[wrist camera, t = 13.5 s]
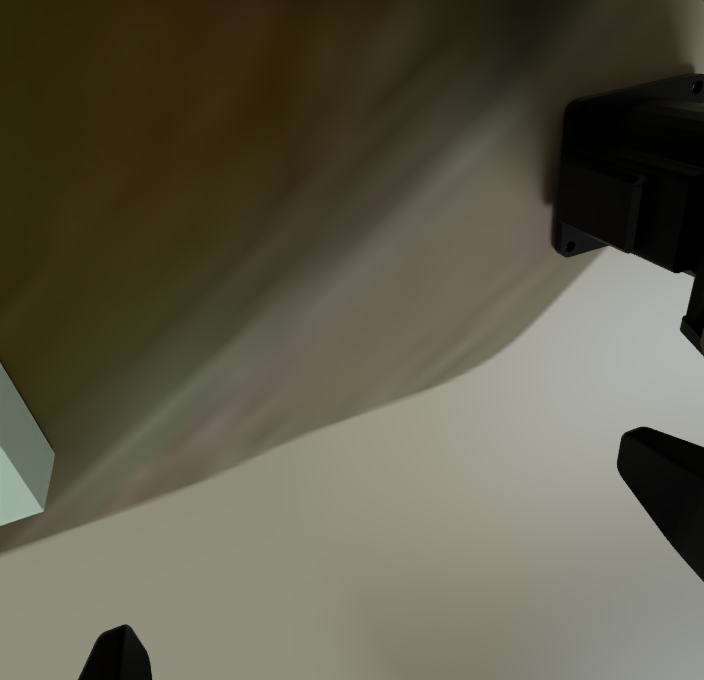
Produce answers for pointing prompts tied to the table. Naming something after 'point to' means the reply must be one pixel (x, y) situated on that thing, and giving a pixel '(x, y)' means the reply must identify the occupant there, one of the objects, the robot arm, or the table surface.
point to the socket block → (21, 457)
